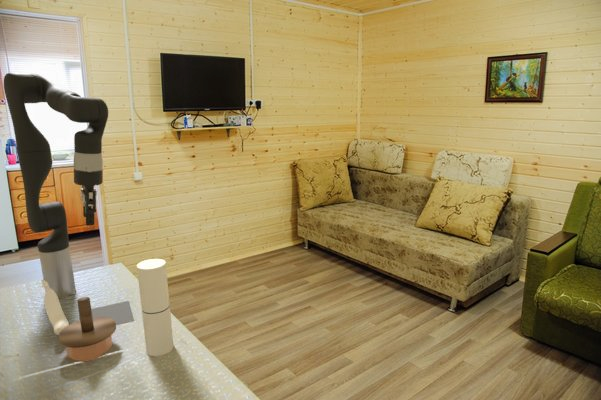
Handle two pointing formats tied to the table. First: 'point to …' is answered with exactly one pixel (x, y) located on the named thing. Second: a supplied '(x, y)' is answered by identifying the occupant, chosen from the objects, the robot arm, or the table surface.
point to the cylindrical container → (155, 306)
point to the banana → (54, 309)
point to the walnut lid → (86, 328)
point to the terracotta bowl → (89, 351)
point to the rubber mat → (115, 312)
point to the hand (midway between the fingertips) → (88, 220)
